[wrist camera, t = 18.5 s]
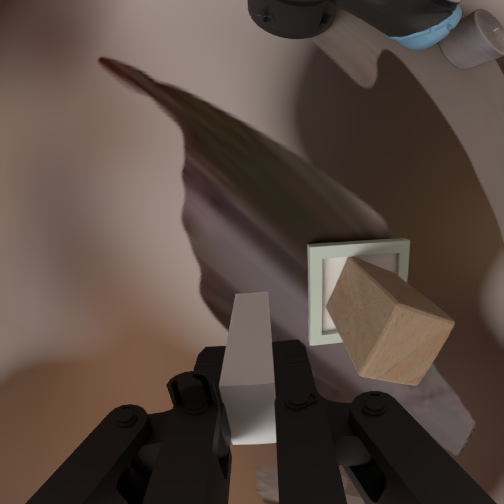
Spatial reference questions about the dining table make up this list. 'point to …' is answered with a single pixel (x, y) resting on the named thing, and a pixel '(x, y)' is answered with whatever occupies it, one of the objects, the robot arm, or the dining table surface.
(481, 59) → the pillar candle
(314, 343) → the square tray
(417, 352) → the wooden block
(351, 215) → the dining table surface
